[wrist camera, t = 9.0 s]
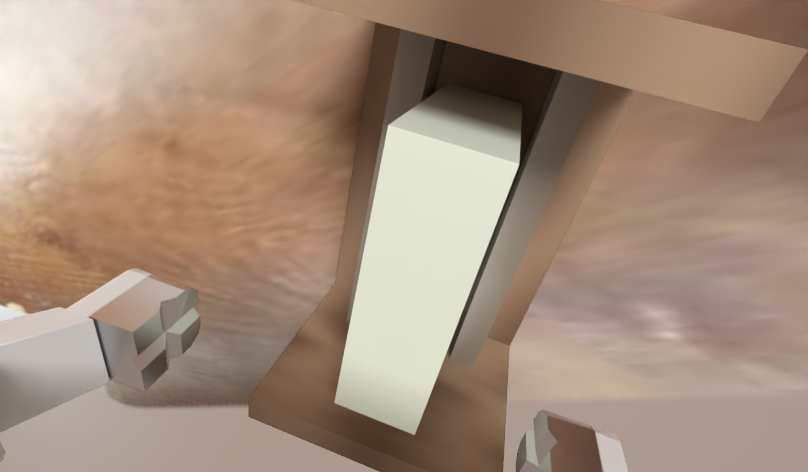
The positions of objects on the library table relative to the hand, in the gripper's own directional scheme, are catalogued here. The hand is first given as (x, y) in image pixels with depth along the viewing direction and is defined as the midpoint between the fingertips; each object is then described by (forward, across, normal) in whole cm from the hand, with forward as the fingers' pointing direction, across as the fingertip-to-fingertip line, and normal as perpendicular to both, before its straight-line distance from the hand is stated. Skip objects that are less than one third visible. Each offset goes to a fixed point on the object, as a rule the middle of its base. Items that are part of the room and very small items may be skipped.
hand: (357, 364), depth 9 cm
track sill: (+12, -1, 0) cm, 12 cm away
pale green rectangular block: (+10, -1, 0) cm, 11 cm away
